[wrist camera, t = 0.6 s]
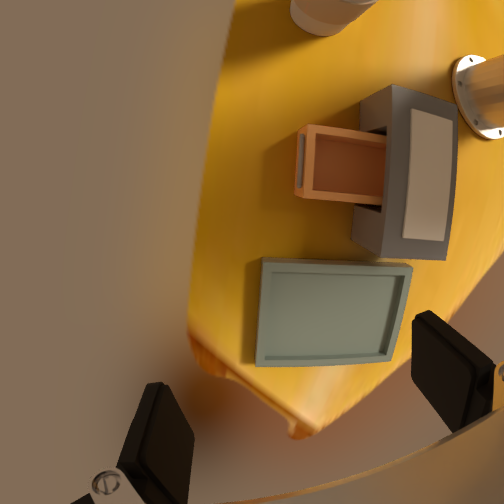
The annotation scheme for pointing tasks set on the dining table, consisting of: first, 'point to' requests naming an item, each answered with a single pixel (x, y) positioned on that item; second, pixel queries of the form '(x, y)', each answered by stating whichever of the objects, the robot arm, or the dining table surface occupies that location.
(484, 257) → the dining table surface
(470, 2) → the dining table surface
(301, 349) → the tray
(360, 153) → the orange drawer
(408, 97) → the bay housing
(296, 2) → the coffee cup
